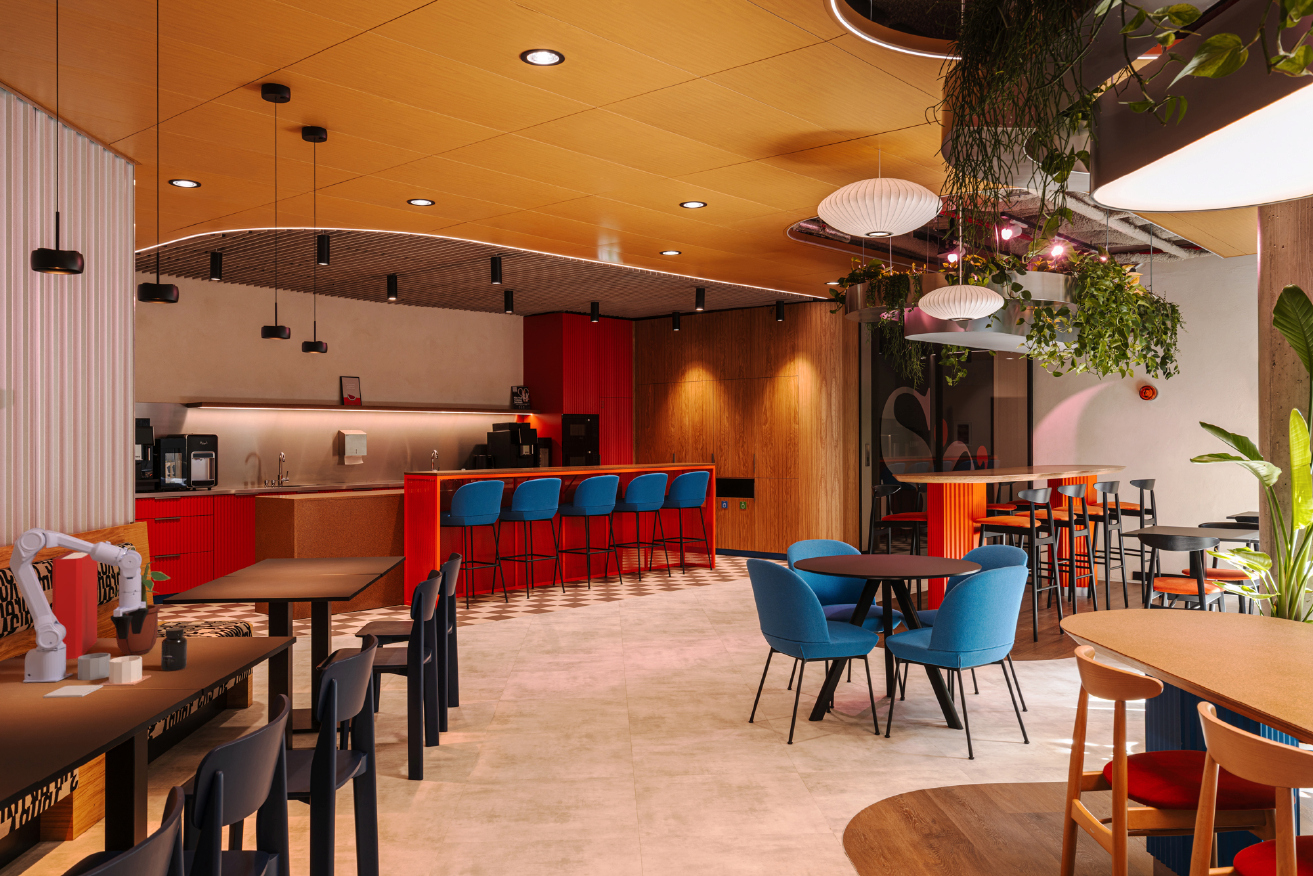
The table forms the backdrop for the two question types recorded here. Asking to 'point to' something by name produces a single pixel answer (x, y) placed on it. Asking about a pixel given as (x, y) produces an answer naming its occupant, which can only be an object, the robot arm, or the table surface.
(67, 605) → the book
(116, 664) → the tube
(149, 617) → the potted plant
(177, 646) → the supplement bottle
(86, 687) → the ball mat
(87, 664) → the grey faceted cup
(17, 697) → the table surface
